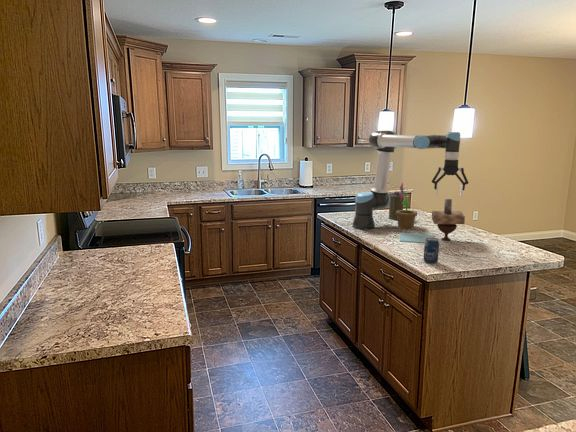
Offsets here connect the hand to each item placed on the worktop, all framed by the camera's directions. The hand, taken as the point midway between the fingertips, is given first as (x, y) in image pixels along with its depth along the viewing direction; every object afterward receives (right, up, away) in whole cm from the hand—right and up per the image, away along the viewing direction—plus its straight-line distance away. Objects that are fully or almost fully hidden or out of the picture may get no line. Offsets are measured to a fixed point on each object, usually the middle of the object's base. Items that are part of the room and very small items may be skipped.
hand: (448, 195), depth 255 cm
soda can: (-23, -36, -37) cm, 57 cm away
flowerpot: (-14, -20, +40) cm, 47 cm away
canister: (-15, -14, +67) cm, 70 cm away
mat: (-16, -26, +9) cm, 32 cm away
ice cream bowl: (0, -27, +5) cm, 27 cm away
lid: (0, -15, +3) cm, 16 cm away
